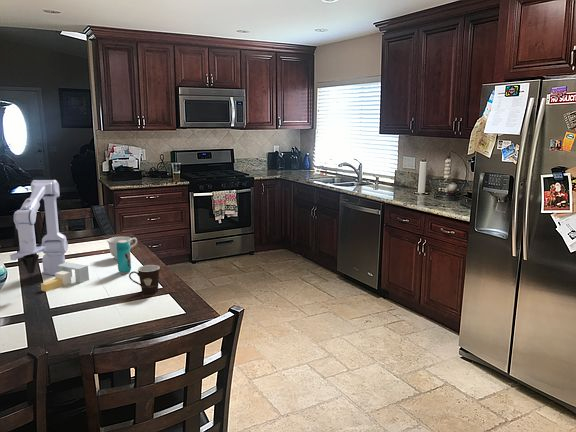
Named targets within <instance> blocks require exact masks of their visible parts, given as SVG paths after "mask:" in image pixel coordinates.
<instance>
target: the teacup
mask: <svg viewBox="0 0 576 432" xmlns="http://www.w3.org/2000/svg"><path fill="white" fill-rule="evenodd" d="M119 240H129V244H130V250H131V249H132V248H134V247H135V246H136V245H138V239H137V238H136V237H131V236H123V235H122V236H120V235H119V236H112V237H110V238H108V239H107V240H106V242H107V243H108V246H109V252H110V254H111V256H112V257H114V260H117V246H116V244H117V241H119ZM133 241H135V242H134V244H131V243H133ZM117 261H118V260H117Z"/></svg>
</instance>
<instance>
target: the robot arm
mask: <svg viewBox="0 0 576 432" xmlns="http://www.w3.org/2000/svg"><path fill="white" fill-rule="evenodd" d="M30 191H31V194H30V196H29V197H28V198H26V199H25V200H24V202H23V203H22V205H21V207H20V209H17V210H16V211H14V213H13V223H14V224H15V225H14V226H15V229H16V230H17V235H18V242H19V245H18V246H19V251H17V252H15V253H11V254H10V255H9V257H10V261H17V259H18V260H20V262H22V263H23V265H24V268H25V269H26V272H27V274H34V273H35V270H36V264H37V262H38V259H39V258H40V255H39V254H38V253H41V252H43V256H42V258H41V260H42V263H41V264H42V271H41V273H42V274H45V275H50V276H55V273H57V272H58V265H60V264H63V263H66V257H65V254H66V253H67V252H68V249H69V244H68V240H67V236H66V235H65V234H63V233H61V232H60V230H59V229H60V228H59V219H58V218H59V217H58V206H57V199H58V198H60V196H61V195H60V193H61V192H60V184H59V182H58V181H57V180H56V179H42V180H41V179H40V180H39V179H33V180H32V181H31V183H30ZM41 200H43V202H44V212H45V213H44V214H45V215H44V216H45V224H46V225H45V226H46V234H45V235H43V237H42V239H41V245H40V246H37V243H36V241H37V240H36V233H35V232H36V231H35V224H36V220H37V213H38V210H39V208H40V206H41V203H40V201H41Z"/></svg>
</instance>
